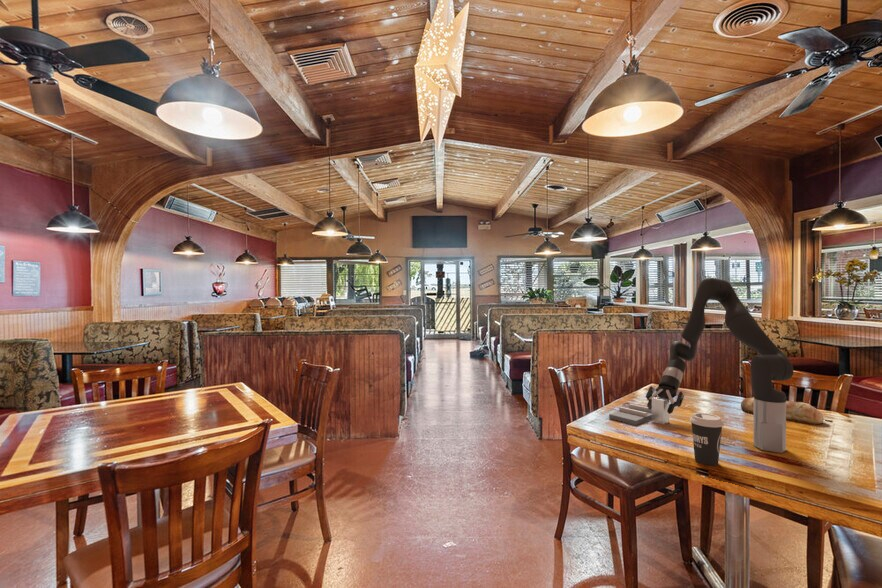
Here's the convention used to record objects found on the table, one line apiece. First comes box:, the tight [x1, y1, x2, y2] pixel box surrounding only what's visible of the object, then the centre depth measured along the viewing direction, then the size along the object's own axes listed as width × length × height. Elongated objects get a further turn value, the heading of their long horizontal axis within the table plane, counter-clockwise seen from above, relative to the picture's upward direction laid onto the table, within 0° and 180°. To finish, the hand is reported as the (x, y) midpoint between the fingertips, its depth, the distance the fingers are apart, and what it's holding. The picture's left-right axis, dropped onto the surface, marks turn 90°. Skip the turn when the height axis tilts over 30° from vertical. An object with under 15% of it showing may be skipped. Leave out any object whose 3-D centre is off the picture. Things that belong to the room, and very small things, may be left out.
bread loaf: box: [740, 396, 834, 425], centre depth 188 cm, size 35×18×9 cm, turn 49°
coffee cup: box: [689, 412, 725, 467], centre depth 139 cm, size 10×10×15 cm
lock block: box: [651, 395, 670, 425], centre depth 181 cm, size 5×5×10 cm
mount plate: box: [608, 403, 652, 426], centre depth 189 cm, size 12×26×4 cm, turn 128°
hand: (658, 410), depth 180 cm, fingers open, 7 cm apart
